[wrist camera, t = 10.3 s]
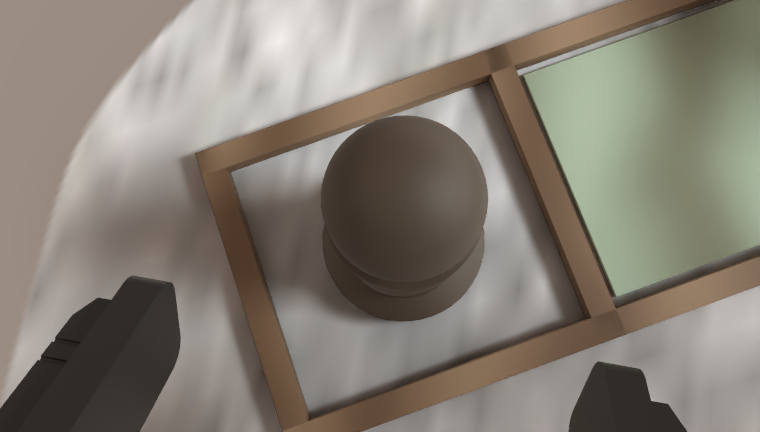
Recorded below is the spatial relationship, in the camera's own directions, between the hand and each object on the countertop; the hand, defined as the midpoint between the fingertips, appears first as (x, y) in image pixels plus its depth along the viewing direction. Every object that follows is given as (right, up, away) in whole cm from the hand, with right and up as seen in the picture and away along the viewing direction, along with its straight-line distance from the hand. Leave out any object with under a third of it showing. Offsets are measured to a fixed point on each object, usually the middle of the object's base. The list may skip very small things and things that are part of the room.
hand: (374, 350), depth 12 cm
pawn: (+1, +2, +8) cm, 9 cm away
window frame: (+6, +3, +8) cm, 11 cm away
